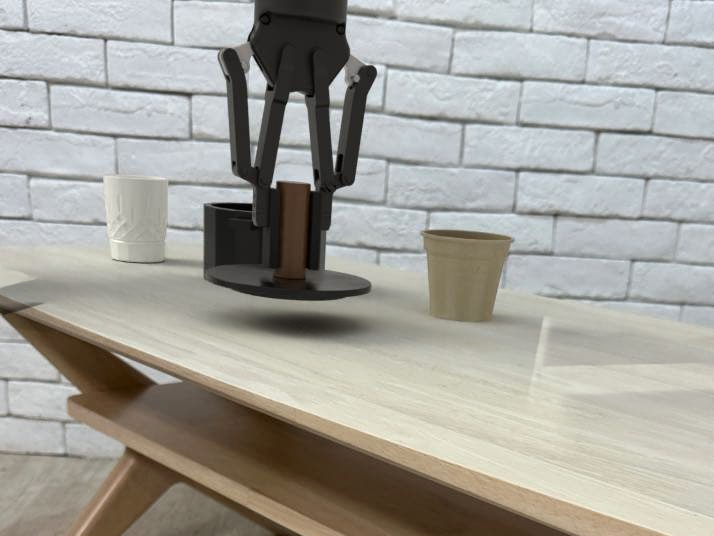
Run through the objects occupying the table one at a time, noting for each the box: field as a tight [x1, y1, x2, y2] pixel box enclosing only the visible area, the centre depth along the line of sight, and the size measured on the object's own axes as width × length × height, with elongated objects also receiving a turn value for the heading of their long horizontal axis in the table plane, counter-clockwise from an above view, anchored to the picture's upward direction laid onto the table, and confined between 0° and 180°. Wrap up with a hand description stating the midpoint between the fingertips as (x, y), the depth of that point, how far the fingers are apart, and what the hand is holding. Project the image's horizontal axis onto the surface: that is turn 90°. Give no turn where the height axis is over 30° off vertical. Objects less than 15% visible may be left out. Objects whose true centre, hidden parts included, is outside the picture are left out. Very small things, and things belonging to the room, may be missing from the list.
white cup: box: [102, 173, 169, 264], centre depth 126 cm, size 8×8×10 cm
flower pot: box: [419, 228, 516, 323], centre depth 100 cm, size 9×9×9 cm
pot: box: [202, 201, 327, 281], centre depth 113 cm, size 14×19×8 cm
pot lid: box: [205, 180, 373, 302], centre depth 88 cm, size 15×15×9 cm
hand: (289, 266), depth 89 cm, fingers closed on pot lid, 3 cm apart
